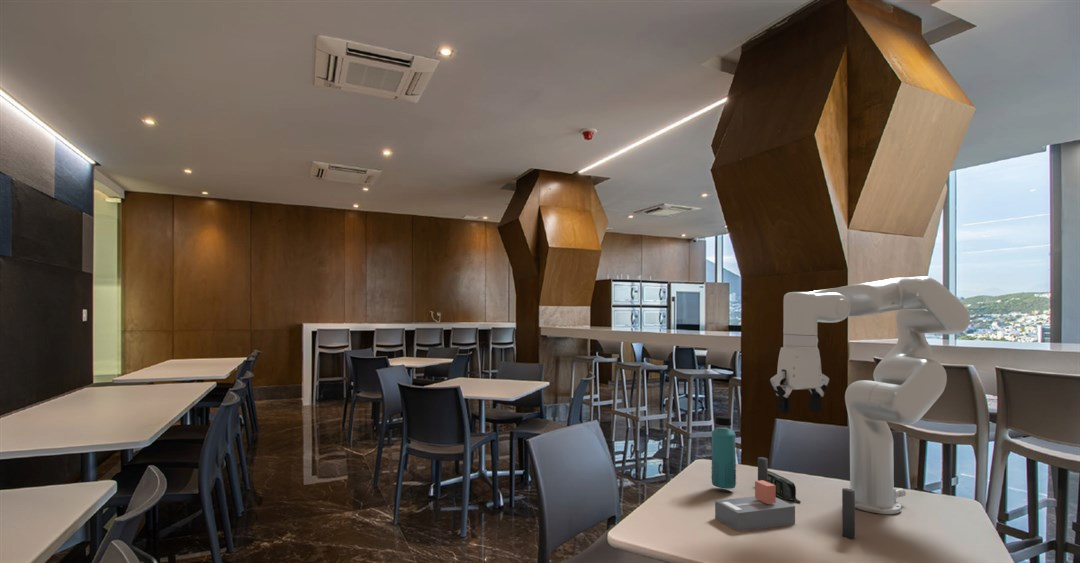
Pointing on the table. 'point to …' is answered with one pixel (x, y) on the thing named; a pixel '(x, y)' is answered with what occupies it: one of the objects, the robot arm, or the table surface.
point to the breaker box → (754, 513)
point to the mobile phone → (783, 486)
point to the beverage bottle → (723, 455)
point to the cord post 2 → (848, 513)
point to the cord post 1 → (762, 469)
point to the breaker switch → (765, 492)
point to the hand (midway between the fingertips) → (800, 412)
